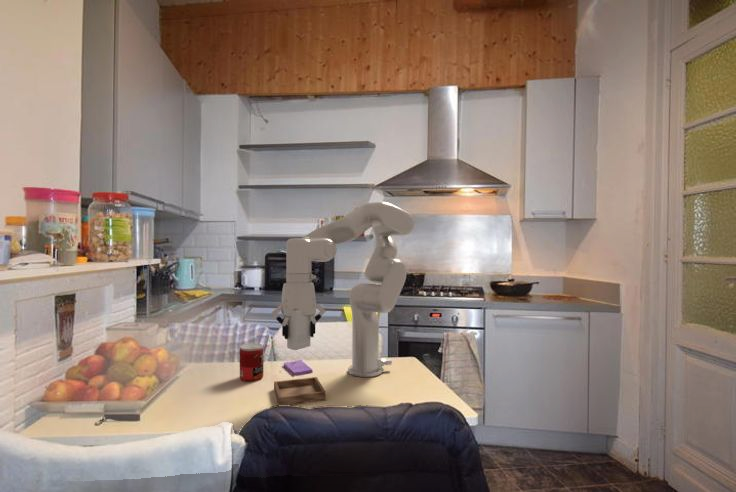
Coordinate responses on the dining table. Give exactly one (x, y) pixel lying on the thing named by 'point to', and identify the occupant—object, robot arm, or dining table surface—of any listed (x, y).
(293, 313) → the skincare box
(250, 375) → the canned food
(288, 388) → the tray
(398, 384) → the dining table surface
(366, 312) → the robot arm
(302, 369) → the sponges
